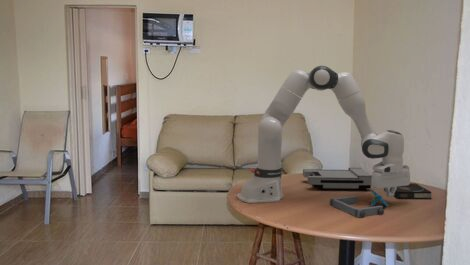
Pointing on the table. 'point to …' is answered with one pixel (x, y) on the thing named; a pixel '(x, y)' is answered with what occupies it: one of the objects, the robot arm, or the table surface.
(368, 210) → the u-shaped wheeled base
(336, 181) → the game console
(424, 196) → the portable cd player
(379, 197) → the gear
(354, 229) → the table surface
